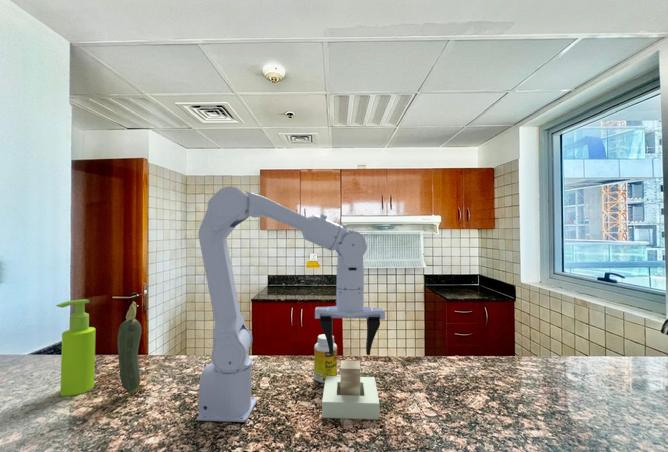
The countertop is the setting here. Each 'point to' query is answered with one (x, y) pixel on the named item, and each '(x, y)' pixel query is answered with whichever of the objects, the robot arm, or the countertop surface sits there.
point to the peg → (350, 378)
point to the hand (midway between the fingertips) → (349, 352)
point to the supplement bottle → (324, 359)
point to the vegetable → (129, 351)
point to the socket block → (350, 400)
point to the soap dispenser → (77, 352)
